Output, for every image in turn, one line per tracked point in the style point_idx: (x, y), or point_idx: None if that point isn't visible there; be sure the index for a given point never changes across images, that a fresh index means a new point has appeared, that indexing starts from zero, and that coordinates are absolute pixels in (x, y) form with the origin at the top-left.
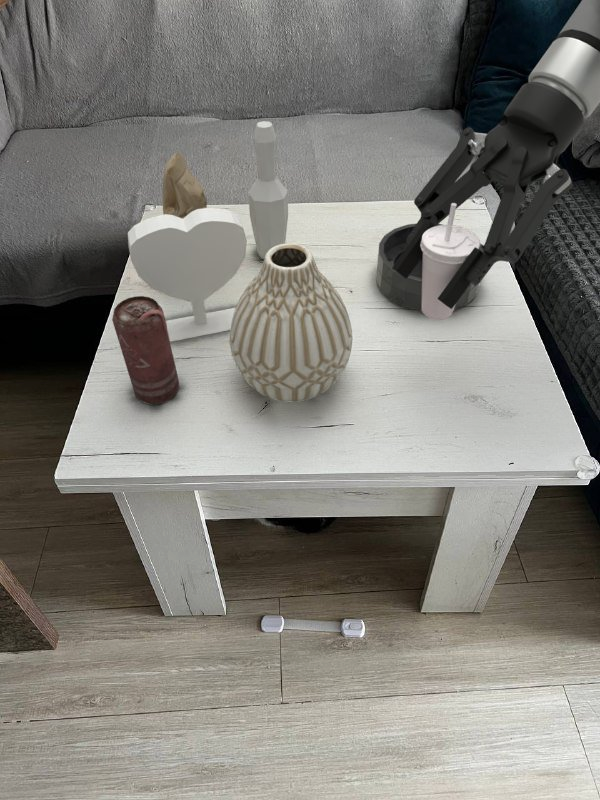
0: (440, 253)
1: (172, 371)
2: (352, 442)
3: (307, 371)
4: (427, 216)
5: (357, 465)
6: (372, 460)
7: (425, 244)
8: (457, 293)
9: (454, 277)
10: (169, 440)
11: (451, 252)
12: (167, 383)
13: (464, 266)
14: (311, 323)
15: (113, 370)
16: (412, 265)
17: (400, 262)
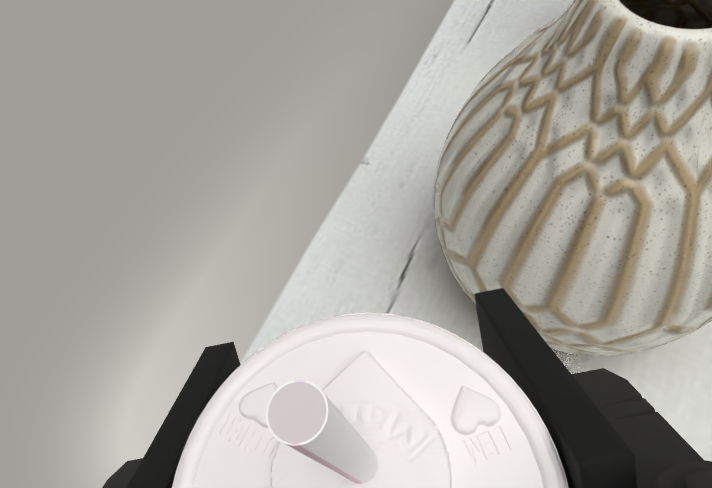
0: (272, 342)
1: None
2: (348, 292)
3: (437, 167)
4: (660, 478)
5: (299, 277)
6: (294, 305)
7: (393, 317)
8: None
9: (196, 402)
10: (487, 56)
11: (244, 407)
12: None
13: (166, 451)
14: (485, 118)
15: None
16: None
17: (492, 306)
